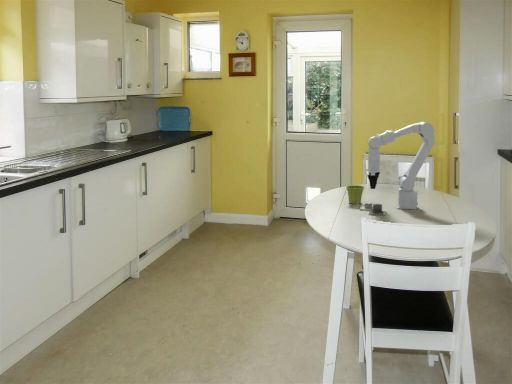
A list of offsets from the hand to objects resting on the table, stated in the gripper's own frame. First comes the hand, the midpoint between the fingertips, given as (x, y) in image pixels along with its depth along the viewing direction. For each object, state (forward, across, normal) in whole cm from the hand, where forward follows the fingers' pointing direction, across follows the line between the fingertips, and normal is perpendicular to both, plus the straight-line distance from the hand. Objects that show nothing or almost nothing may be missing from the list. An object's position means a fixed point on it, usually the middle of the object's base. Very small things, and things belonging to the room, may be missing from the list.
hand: (373, 187), depth 283 cm
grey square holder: (+10, +3, -2) cm, 11 cm away
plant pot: (+11, -10, -10) cm, 18 cm away
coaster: (+10, +13, +3) cm, 17 cm away
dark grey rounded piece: (+10, +13, +3) cm, 16 cm away
